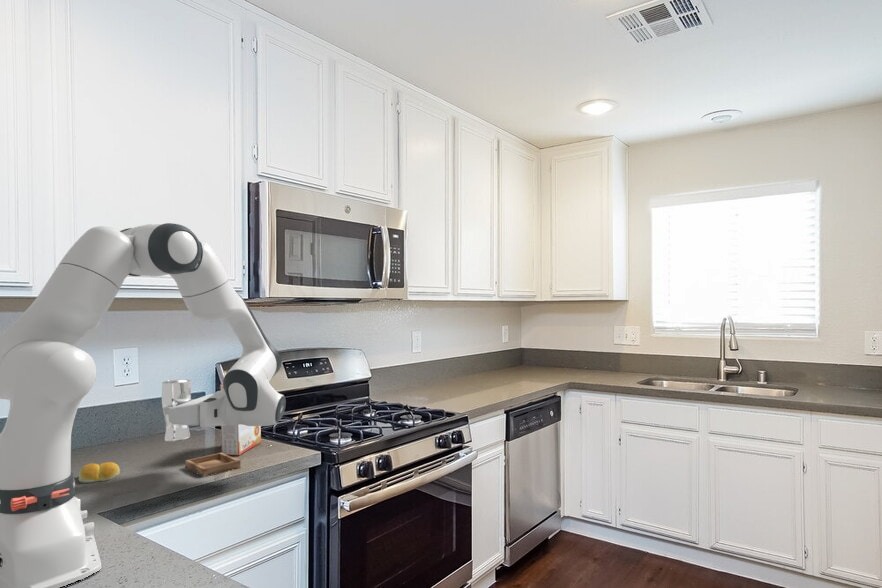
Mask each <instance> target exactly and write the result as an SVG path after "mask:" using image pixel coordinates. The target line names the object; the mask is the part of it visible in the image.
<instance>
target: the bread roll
mask: <svg viewBox="0 0 882 588" xmlns="http://www.w3.org/2000/svg"><path fill="white" fill-rule="evenodd" d="M120 471H121V470H120V466H119V465H118V464H117V463H115V462H112V461H107V462H102V463H100V464H98V463H96V462H95V463H94V462H93V463H88V464H85V465H84V466H82V467H81V468H80V470H79V473H78V482H79V483H87V484H91V483H96V482H104V481H109V480H112V479H114V478H116V477H117V476H119V475H120V473H121V472H120Z"/></svg>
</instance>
